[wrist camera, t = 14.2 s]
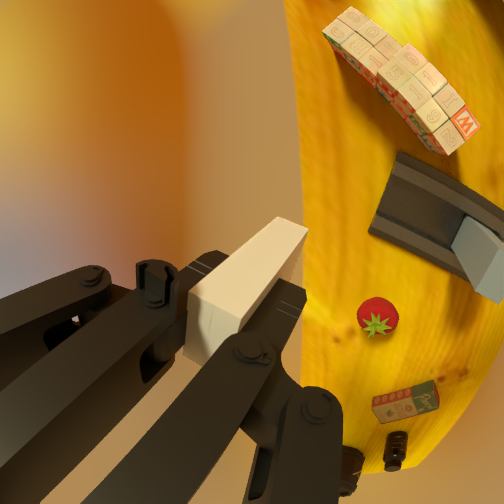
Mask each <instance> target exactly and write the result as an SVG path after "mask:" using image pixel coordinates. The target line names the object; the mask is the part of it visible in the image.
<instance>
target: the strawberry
mask: <svg viewBox="0 0 504 504" xmlns="http://www.w3.org/2000/svg"><path fill="white" fill-rule="evenodd" d="M357 320H358V323H359V325H360V326H361V327H362V328H363V329H362V330H366V331H368V332H370V333H369V335H368V337H370V336H372V335H373V338H374V334H384V335H386V333H388V332H391V331H392V330H394V329H395V328H396V326H397V324H398V320H399V315H398V312H397V310H396V308H395V307H394V305H393V304H392V303H391V302H389V301H388V300H386V299H384V298H381V297H374V298H371V299H368V300H366V301H365V302H363V303H362V305H361V306H360V307H359V309H358V311H357ZM368 337H367V338H368Z"/></svg>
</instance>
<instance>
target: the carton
mask: <svg viewBox="0 0 504 504" xmlns="http://www.w3.org/2000/svg"><path fill="white" fill-rule="evenodd" d="M436 409H439V395H438V392H437V389H436V386H435V383H434V380H431V381H428V382H425V383H422V384H419V385H416V386H413V387H409V388H406V389H403V390H399V391H396V392H392V393H388V394H384V395H380V396H376V397H373V401H372V410H373V412H374V414H375V415H376V417H377V418H378V420H379V422H380V423H381V424H384V423H389V422H393V421H397V420H401V419H405V418H409V417H413V416H416V415H420V414H423V413H427V412H430V411H433V410H436Z"/></svg>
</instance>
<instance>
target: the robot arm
mask: <svg viewBox="0 0 504 504" xmlns="http://www.w3.org/2000/svg"><path fill="white" fill-rule="evenodd" d="M308 230H309V229H308V228H305V227H303V226H300V225H298V224H295V223H293V222H291V221H288V220H286V219H283V218H280V217H276V218H275V219H274V220H273V221H272V222H270V223H269V224H268V225H267V226H265V227H264V228H263V229H262V230H261V231H259V232H258V233H257V234H256V235H255V236H253V237H252V238H251V239H250V240H249V241H247V242H246V243H245V244H244V245H243V246H241V247H240V248H239V249H238V250H237V251H235V252H234V253H233V254H232V255H231V256H228V255H226V254H224V253H222V252H220V251H217V250H215V251H211V252H208V253H204V254H203V255H201V256H200V257H198V258H197V259H196V260H195V261H193V262H192V263H190V264H189V265H188V267H187V266H186V267H185V268H183V269H182V270H181V271H179V272H178V270H177V268H176V267H174V266H173V265H172V264H171V263H168V262H165V261H162V260H155V259H151V260H144V261H141V262H138V263H136V286H137V288H136V289H134V290H130V289H127V288H124V287H121V286H118V285H115V284H112V281H111V275H110V273H109V271H107V270H106V269H105V268H103V267H100V266H97V265H96V266H95V265H89V266H84V267H81V268H78V269H75V270H73V271H70V272H67V273H65V274H62V275H59V276H57V277H54V278H51V279H49V280H46V281H44V282H41V283H39V284H36V285H34V286H31V287H29V288H26V289H24V290H21V291H19V292H16V293H14V294H11V295H9V296H7V297H4V298H2V299H0V504H40V502H41V501H42V500H43V499H44V498H45V497H46V496H47V495H48V494H49V493H50V492H51V491H52V490H53V489H54V488H55V487H56V486H57V485H58V484H59V483H60V482H61V481H62V480H63V479H64V478H65V477H66V476H67V475H68V474H69V473H70V472H71V471H72V470H73V469H74V468H75V467H76V466H77V465H78V464H79V463H80V462H81V461H82V460H83V459H84V458H85V457H86V456H87V455H88V454H89V453H90V452H91V451H92V450H93V449H94V448H95V447H96V446H97V444H99V442H100V441H101V440H103V438H104V437H105V436H106V435H107V434H108V433H109V432H110V431H111V430H112V429H113V428H114V427H115V426H116V425H117V424H118V423H119V422H120V421H121V420H122V419H123V418H124V417H125V416H126V414H127V413H128V412H129V411H130V410H131V409H132V408H133V407H134V406H135V405H136V404H137V403H138V402H139V401H140V400H141V399H142V398H143V397H144V395H145V394H146V393H147V392H148V391H149V390H150V389H151V388H152V387H153V386H154V385H155V384H156V383H157V382H158V380H160V378H161V377H162V376H163V375H164V374H165V373H166V372H167V371H168V370H169V369H170V368H171V367H172V365H173V363H174V361H175V353H176V352H177V351H178V350H179V349H180V348H181V347H182V346H183V345H184V347H183V355H184V356H186V357H187V358H189V359H191V360H192V361H194V362H196V363H197V364H199V365H201V366H202V368H201V369H200V371H199V372H198V373H197V374H196V375H195V377H194V378H193V379H192V380H191V382H190V383H189V384H188V385H187V386H186V387H185V389H184V390H183V391H182V392H181V393H180V395H179V396H178V397H177V398H176V399H175V400H174V402H173V403H172V404H171V405H170V406H169V408H168V409H167V410H166V411H165V412H164V413H163V414H162V415H161V417H160V418H159V419H158V420H157V421H156V422H155V424H154V425H153V426H152V427H151V428H150V429H149V430H148V431H147V433H146V434H145V435H144V436H143V437H142V438H141V439H140V441H139V442H138V443H137V444H136V445H135V446H134V447H133V448H132V449H131V450H130V452H129V453H128V454H127V455H126V456H125V457H124V458H123V459H122V461H120V463H119V464H118V465H117V466H116V467H115V468H114V469H113V470H112V471H111V472H110V473H109V474H108V475H107V476H106V478H105V479H104V480H103V481H102V482H101V483H100V484H99V485H98V486H97V487H96V488H95V489H94V490H93V491H92V492H91V493H90V494H89V495H88V496H87V497H86V498H85V499H84V500H83V501H82V502H81V503H80V504H188V502H189V501H190V500H191V498H192V497H193V496H194V494H195V493H196V492H197V490H198V489H199V488H200V486H201V485H202V483H203V482H204V481H205V479H206V478H207V476H208V475H209V473H210V472H211V470H212V469H213V467H214V466H215V464H216V463H217V462H218V460H219V458H220V457H221V455H222V454H223V452H224V451H225V449H226V448H227V446H228V445H229V443H230V442H231V440H232V438H233V436H234V435H235V434H236V432H237V430H238V429H239V427H240V428H241V429H242V430H243V431H244V432H245V433H246V434H247V435H248V436H249V437H250V438H251V439H252V440H253V441H254V442H256V443H257V446H256V450H255V454H254V458H253V463H252V467H251V471H250V475H249V479H248V483H247V487H246V491H245V495H244V498H243V502H242V504H338V500H339V490H340V478H341V463H342V441H343V412H342V407H341V404H340V403H339V401H338V400H337V398H336V397H335V396H334V395H333V394H332V393H330V392H329V391H328V390H325V389H323V388H320V387H314V386H307V387H304V388H302V387H301V386H300V385H298V384H297V383H296V382H295V381H294V380H292V379H291V377H290V376H289V375H288V374H287V373H286V372H285V370H284V368H283V366H282V362H281V353H282V350H283V348H284V347H285V345H286V343H287V341H288V339H289V337H290V335H291V333H292V331H293V329H294V327H295V325H296V322H297V320H298V318H299V316H300V314H301V312H302V310H303V308H304V305H305V303H306V301H307V297H306V291H305V289H303V288H301V287H299V286H297V285H294V284H292V283H290V282H289V281H290V279H291V277H292V274H293V271H294V269H295V266H296V263H297V261H298V258H299V255H300V253H301V250H302V247H303V244H304V242H305V239H306V236H307V233H308ZM77 315H78V318H79V321H78V322H75V321H72V318H73V317H75V316H77Z"/></svg>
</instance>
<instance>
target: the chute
mask: <svg viewBox="0 0 504 504" xmlns="http://www.w3.org/2000/svg"><path fill="white" fill-rule="evenodd" d="M466 214H467V215H468V216H470V217H472V218H473V219H475V220H476V221H478V222H480V223H481V224H483V225H484V226H486V227H487V228H488V229H489V230H491V231H492V232H493V233H494V234H495V235H496V236H497V237H498V238H499V239H500V240H501V242H502V243H503V244H504V211H503V210H502V209H500V208H499V207H497V206H496V205H495V204H493V203H492V202H490V201H489V200H487V199H486V198H484V197H483V196H481V195H479V194H478V193H476V192H475V191H473V190H472V189H470V188H468V187H467V186H465V185H463V184H462V183H460V182H458V181H457V180H455V179H453V178H451V177H450V176H448V175H446V174H444V173H442V172H440V171H439V170H437V169H435V168H433V167H431V166H429V165H427V164H425V163H423V162H421V161H419V160H417V159H415V158H413V157H411V156H409V155H407V154H404V153H402V152H400V151H398V153H397V156H396V159H395V162H394V165H393V168H392V171H391V174H390V176H389V179H388V182H387V184H386V187H385V190H384V192H383V195H382V198H381V200H380V203H379V205H378V208H377V210H376V213H375V215H374V217H373V220H372V222H371V225H370V227H369V229H368V232H370V233H372V234H374V235H376V236H378V237H381V238H383V239H385V240H387V241H389V242H391V243H394V244H396V245H398V246H400V247H402V248H404V249H406V250H408V251H410V252H412V253H414V254H416V255H418V256H421V257H423V258H425V259H427V260H428V261H430V262H432V263H434V264H436V265H438V266H440V267H442V268H444V269H446V270H448V271H450V272H452V273H454V274H455V275H457V276H459V277H461V278H463V279H465V280H466V281H468V282H470V280H469V278H468V276H467V275H466V273H465V271H464V269H463V267H462V265H461V263H460V262H459V260H458V258H457V256H456V255H455V253H454V251H453V249H452V248H451V245H452V243H453V241H454V239H455V237H456V235H457V233H458V231H459V229H460V227H461V225H462V222H463V220H464V218H465V216H466ZM470 283H471V282H470Z"/></svg>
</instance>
